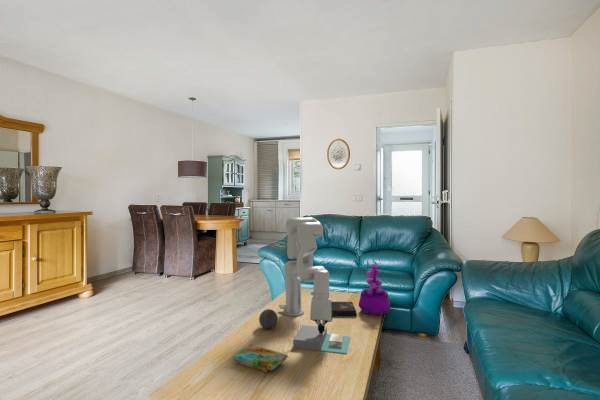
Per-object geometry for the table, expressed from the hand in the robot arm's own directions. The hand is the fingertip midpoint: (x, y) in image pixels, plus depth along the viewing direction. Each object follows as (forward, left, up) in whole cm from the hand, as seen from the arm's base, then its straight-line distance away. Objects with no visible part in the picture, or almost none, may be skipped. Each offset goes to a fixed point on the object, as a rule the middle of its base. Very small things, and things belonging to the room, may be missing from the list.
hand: (321, 332), depth 161 cm
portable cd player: (+4, +45, -6) cm, 46 cm away
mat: (+7, 0, -5) cm, 9 cm away
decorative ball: (-31, +10, -5) cm, 33 cm away
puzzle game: (-22, -26, -5) cm, 34 cm away
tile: (+7, 0, -2) cm, 8 cm away
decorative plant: (+24, +48, -5) cm, 54 cm away
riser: (-5, 0, -5) cm, 7 cm away
